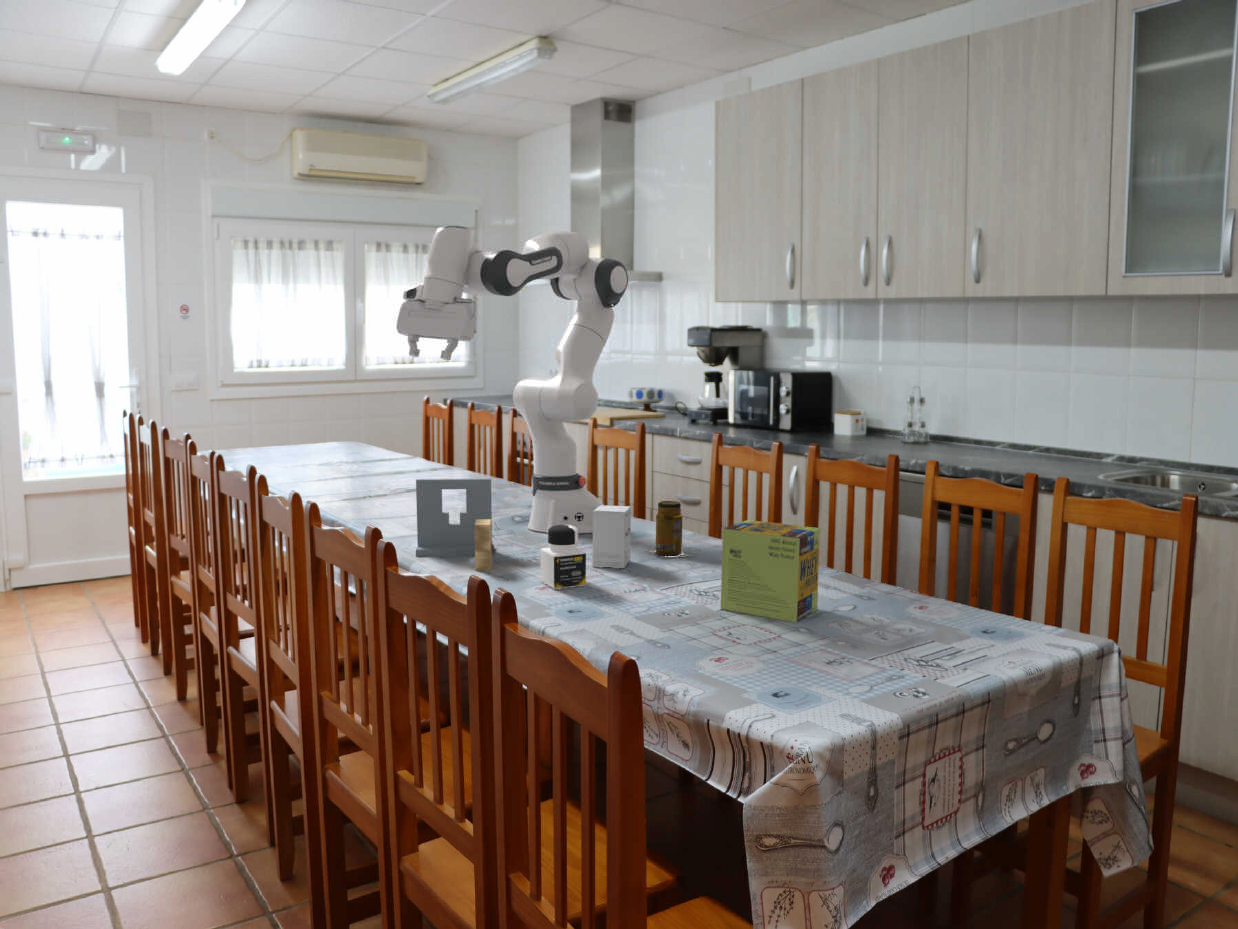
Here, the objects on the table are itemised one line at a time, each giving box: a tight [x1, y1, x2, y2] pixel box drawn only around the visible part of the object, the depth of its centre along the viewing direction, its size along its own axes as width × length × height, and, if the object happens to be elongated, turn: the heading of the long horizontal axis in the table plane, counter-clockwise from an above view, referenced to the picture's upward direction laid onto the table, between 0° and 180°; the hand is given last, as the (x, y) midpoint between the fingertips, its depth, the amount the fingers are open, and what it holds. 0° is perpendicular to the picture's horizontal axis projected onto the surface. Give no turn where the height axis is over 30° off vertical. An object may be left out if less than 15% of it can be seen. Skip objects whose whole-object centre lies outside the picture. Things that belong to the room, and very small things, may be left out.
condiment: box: [648, 500, 691, 559], centre depth 224 cm, size 7×8×12 cm
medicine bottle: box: [540, 525, 587, 590], centre depth 197 cm, size 7×7×12 cm
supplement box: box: [592, 505, 632, 569], centre depth 214 cm, size 7×7×13 cm
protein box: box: [720, 519, 821, 623], centre depth 180 cm, size 10×15×16 cm
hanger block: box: [474, 519, 495, 572], centre depth 213 cm, size 4×10×10 cm, turn 4°
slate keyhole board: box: [415, 478, 494, 557], centre depth 225 cm, size 17×8×17 cm, turn 94°
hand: (429, 357), depth 215 cm, fingers open, 8 cm apart
